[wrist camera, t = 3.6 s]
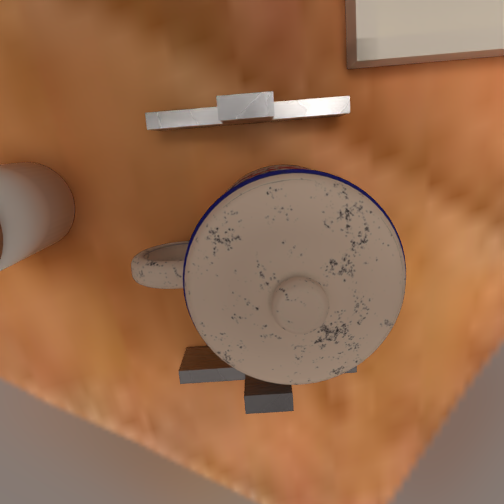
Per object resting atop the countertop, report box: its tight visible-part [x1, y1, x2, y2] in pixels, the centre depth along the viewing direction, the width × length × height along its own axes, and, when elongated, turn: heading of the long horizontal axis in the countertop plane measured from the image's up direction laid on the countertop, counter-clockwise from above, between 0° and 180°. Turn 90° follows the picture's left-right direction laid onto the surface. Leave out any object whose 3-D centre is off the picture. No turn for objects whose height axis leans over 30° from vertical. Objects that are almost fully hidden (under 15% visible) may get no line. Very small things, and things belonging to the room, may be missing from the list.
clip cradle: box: [145, 91, 357, 414], centre depth 24 cm, size 10×15×6 cm, turn 4°
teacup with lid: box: [131, 165, 406, 385], centre depth 21 cm, size 12×9×12 cm
